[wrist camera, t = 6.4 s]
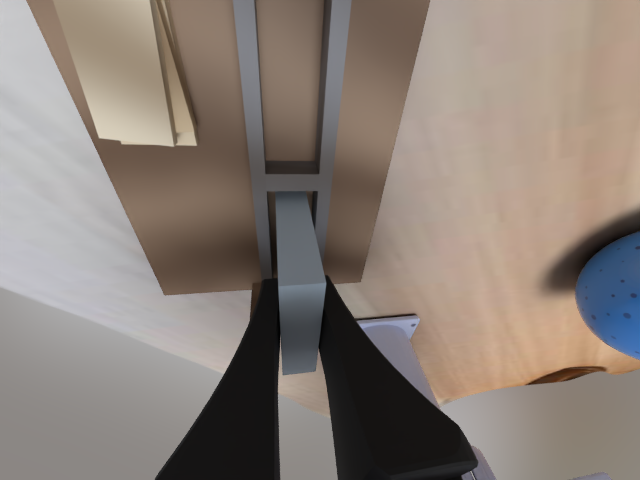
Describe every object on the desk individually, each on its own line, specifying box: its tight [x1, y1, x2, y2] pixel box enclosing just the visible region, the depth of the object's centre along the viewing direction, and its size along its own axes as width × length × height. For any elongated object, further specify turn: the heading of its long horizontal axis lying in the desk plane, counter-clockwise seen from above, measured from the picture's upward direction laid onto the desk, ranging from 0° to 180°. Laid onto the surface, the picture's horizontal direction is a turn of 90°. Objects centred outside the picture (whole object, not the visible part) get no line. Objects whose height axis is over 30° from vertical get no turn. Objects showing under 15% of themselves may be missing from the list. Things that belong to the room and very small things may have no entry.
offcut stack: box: [53, 0, 199, 147], centre depth 8 cm, size 6×3×2 cm, turn 176°
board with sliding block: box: [26, 0, 430, 319], centre depth 11 cm, size 17×13×4 cm
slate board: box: [275, 191, 326, 375], centre depth 12 cm, size 6×2×6 cm, turn 176°
